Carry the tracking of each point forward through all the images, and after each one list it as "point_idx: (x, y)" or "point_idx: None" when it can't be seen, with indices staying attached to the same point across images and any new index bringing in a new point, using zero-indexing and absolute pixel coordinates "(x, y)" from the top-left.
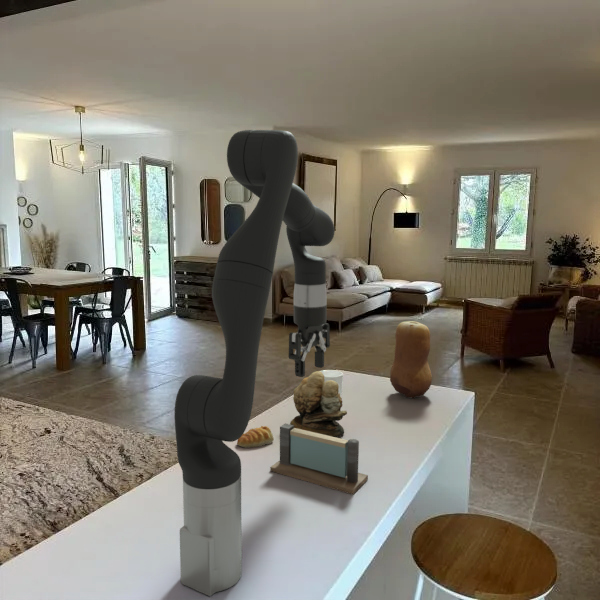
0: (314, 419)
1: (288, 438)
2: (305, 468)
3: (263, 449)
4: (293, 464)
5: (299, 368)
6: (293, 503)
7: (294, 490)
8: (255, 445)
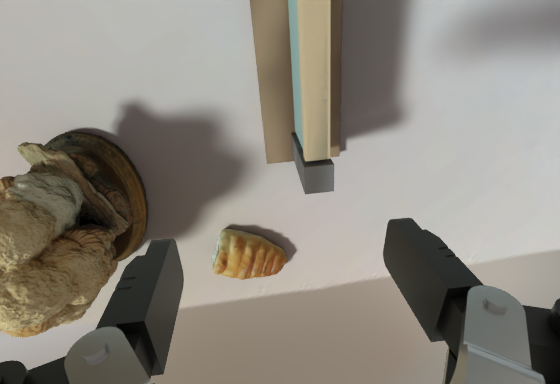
0: (109, 208)
1: None
2: None
3: (263, 221)
4: None
5: (455, 261)
6: (438, 24)
7: (387, 58)
8: (265, 239)
